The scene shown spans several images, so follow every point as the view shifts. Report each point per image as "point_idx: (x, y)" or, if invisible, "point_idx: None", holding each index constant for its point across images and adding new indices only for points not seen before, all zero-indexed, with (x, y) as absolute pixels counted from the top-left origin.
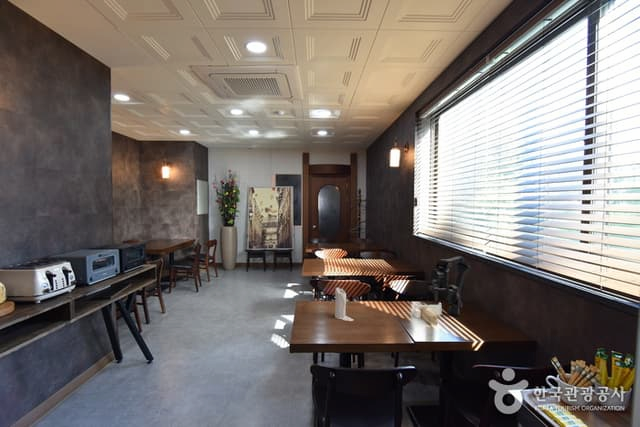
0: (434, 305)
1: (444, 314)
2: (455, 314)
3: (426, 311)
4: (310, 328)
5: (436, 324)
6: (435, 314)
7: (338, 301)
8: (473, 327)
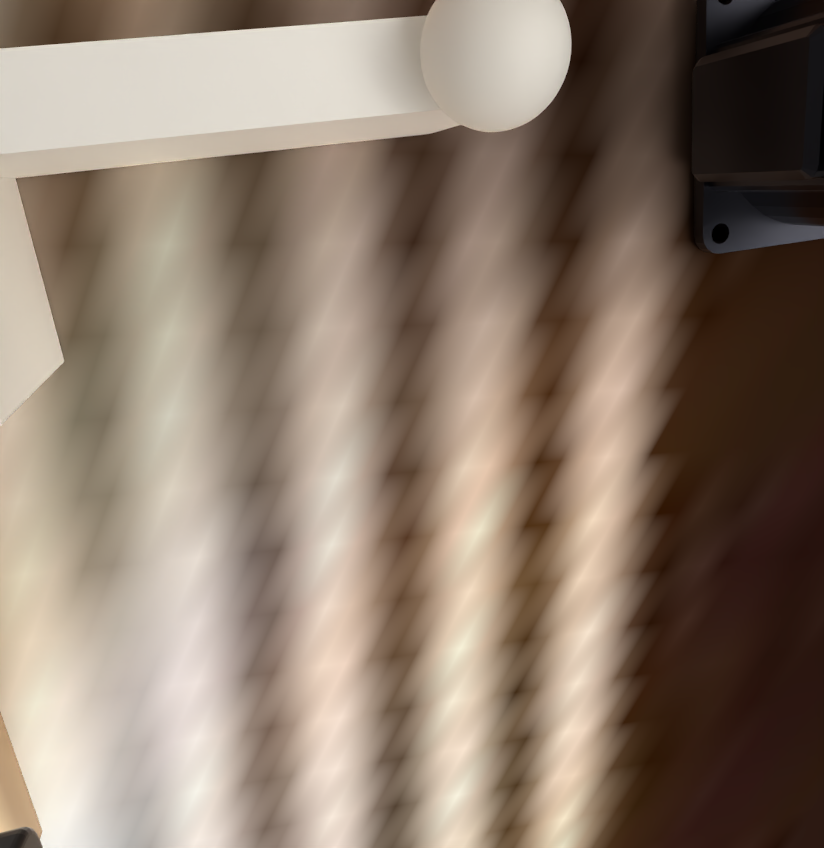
0: (168, 140)
1: None
2: (791, 223)
3: None
4: None
5: None
6: (237, 154)
7: None
8: (704, 840)
